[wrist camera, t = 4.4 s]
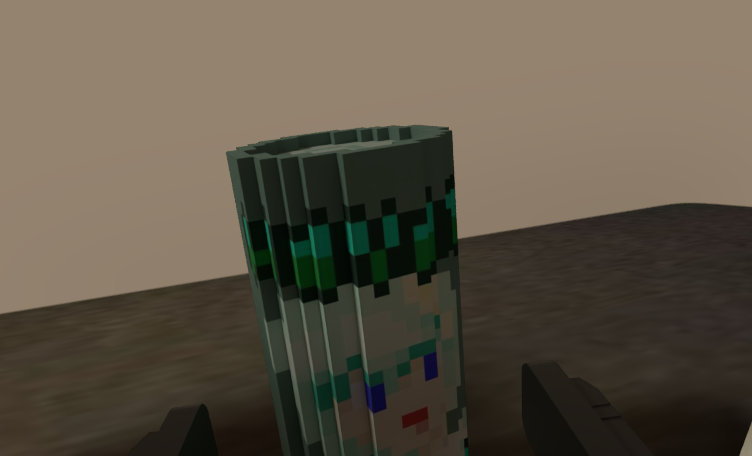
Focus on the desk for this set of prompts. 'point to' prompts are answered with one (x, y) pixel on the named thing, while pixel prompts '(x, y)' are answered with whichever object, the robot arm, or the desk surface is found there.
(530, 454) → the desk surface
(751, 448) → the tower base
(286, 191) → the can
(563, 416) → the robot arm
